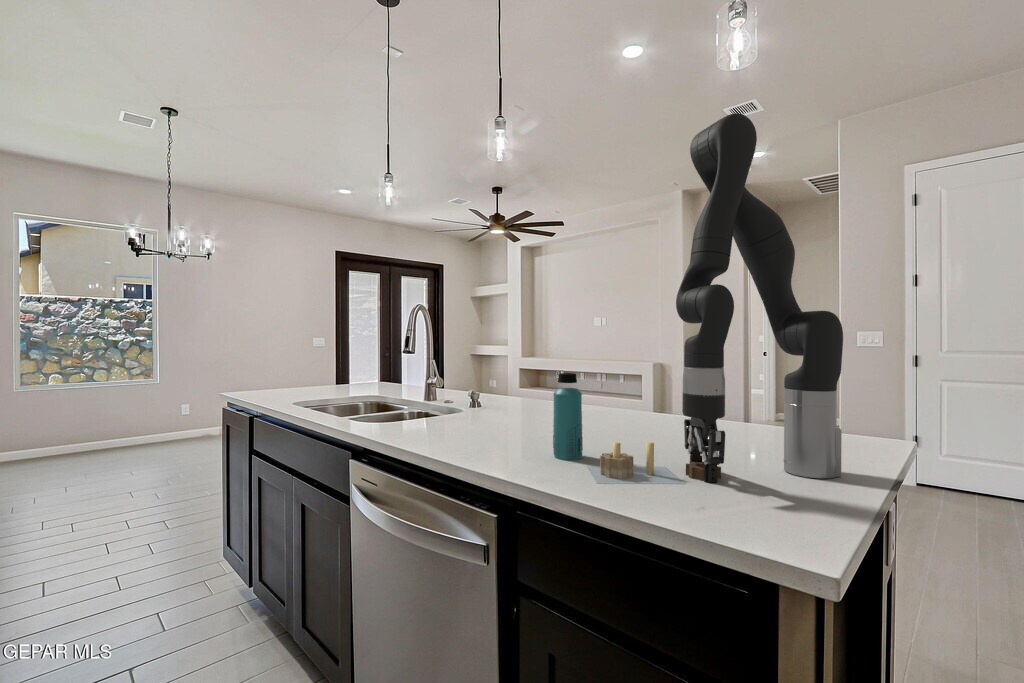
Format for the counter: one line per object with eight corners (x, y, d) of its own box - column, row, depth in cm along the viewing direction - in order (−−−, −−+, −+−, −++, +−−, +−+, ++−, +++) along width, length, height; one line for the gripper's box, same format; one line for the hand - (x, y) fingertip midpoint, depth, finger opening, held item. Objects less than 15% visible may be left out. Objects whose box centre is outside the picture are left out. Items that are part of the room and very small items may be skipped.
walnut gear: (712, 479, 95) (712, 461, 95) (726, 489, 89) (726, 469, 89) (681, 479, 95) (681, 461, 95) (693, 488, 89) (693, 469, 89)
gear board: (665, 473, 99) (665, 437, 99) (686, 492, 87) (686, 450, 87) (586, 473, 99) (586, 436, 99) (596, 491, 87) (597, 450, 87)
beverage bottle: (581, 468, 103) (582, 374, 103) (550, 466, 105) (551, 373, 104) (583, 460, 110) (583, 372, 110) (554, 459, 111) (554, 371, 111)
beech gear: (620, 468, 97) (620, 451, 97) (639, 476, 91) (639, 458, 91) (594, 471, 95) (594, 453, 95) (612, 480, 89) (612, 461, 89)
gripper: (741, 395, 85) (740, 491, 85) (708, 387, 99) (707, 469, 99) (698, 395, 85) (697, 491, 85) (671, 387, 99) (670, 469, 99)
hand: (702, 479), depth 92 cm, fingers open, 6 cm apart
